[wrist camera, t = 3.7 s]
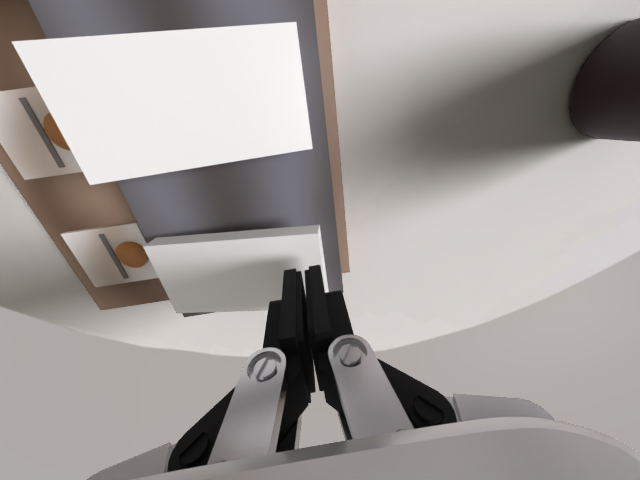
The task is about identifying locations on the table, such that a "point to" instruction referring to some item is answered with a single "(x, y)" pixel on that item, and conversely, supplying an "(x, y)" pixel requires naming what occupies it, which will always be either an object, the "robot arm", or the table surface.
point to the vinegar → (610, 88)
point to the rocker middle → (173, 97)
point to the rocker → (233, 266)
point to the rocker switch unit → (173, 187)
